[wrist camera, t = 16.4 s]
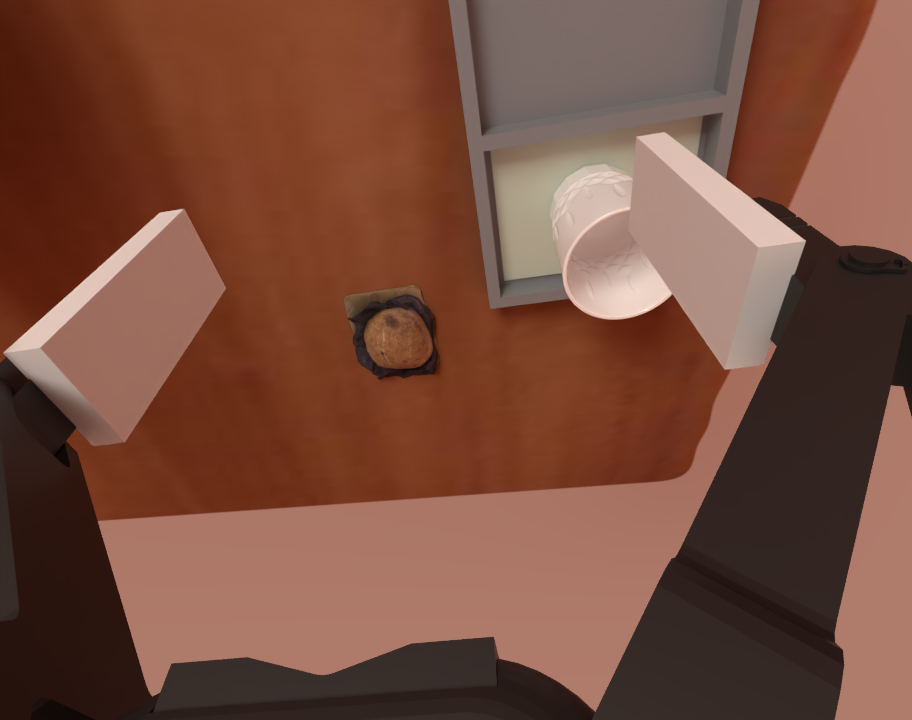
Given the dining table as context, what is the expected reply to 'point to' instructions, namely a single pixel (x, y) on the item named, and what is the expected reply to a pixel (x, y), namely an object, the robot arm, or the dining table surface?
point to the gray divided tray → (584, 107)
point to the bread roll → (393, 332)
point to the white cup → (602, 246)
